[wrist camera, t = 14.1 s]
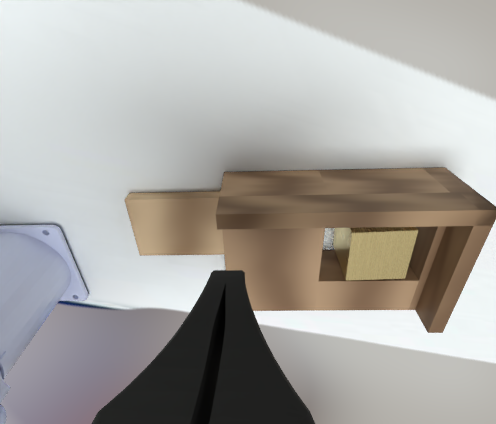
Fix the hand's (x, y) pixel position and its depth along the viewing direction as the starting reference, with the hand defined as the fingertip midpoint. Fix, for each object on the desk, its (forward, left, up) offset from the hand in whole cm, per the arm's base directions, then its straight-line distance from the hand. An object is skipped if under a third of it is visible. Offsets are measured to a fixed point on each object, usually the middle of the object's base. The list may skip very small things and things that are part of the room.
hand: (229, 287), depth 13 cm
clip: (+7, -4, -8) cm, 11 cm away
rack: (+2, -4, -10) cm, 11 cm away
